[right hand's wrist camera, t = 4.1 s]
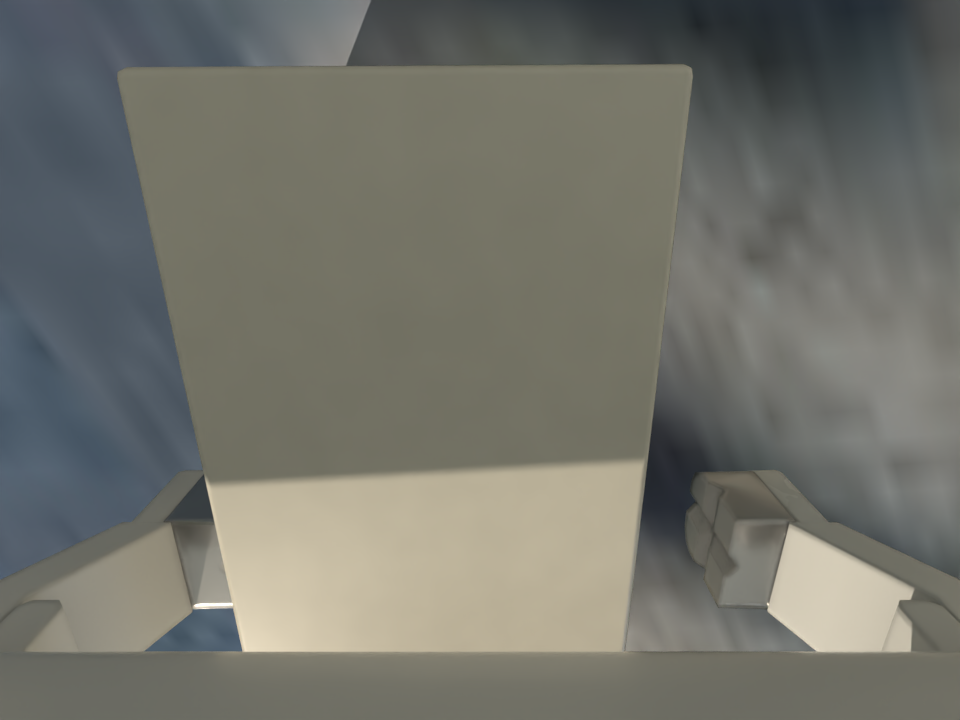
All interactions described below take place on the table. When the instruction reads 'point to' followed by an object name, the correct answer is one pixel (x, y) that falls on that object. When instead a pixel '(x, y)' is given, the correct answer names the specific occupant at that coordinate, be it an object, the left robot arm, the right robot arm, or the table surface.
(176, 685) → the right robot arm
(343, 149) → the bar
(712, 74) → the table surface
